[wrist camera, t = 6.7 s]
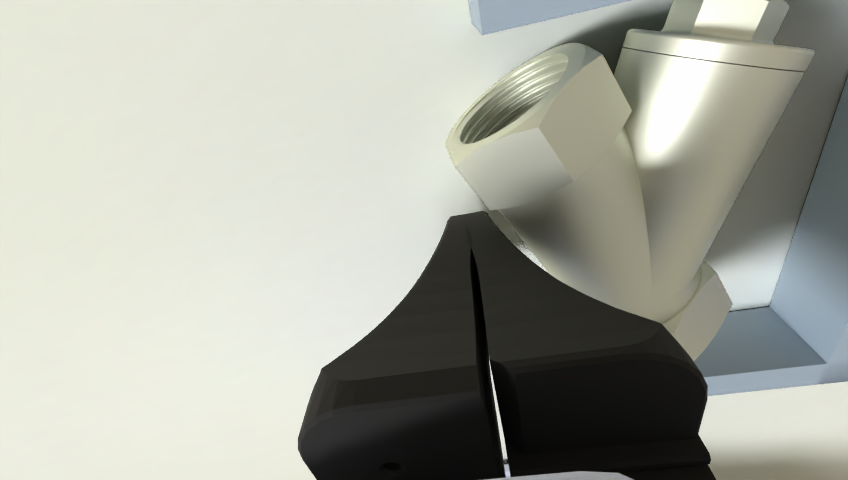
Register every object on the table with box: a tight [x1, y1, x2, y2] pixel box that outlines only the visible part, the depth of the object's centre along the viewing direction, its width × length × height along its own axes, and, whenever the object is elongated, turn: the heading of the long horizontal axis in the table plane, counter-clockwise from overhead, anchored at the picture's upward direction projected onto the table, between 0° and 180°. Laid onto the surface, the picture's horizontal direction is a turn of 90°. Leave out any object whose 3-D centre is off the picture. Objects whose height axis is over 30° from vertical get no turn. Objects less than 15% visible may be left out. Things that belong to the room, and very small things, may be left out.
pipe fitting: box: [445, 0, 815, 361], centre depth 10 cm, size 8×4×7 cm
